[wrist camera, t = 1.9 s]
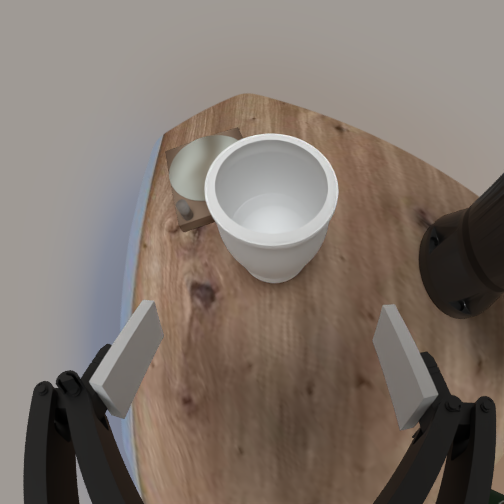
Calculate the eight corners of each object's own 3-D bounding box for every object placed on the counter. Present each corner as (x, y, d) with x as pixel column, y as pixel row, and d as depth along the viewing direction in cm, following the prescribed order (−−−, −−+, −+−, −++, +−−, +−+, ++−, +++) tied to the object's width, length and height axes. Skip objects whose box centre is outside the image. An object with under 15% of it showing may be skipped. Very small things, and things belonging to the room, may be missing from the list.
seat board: (239, 135, 41) (235, 113, 37) (268, 204, 36) (266, 183, 32) (169, 159, 41) (158, 139, 36) (183, 232, 36) (171, 215, 31)
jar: (221, 231, 36) (188, 158, 22) (292, 202, 36) (298, 119, 22) (251, 306, 32) (231, 270, 18) (329, 271, 32) (365, 213, 18)
